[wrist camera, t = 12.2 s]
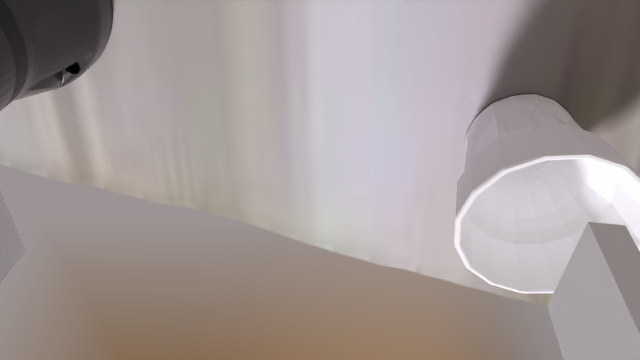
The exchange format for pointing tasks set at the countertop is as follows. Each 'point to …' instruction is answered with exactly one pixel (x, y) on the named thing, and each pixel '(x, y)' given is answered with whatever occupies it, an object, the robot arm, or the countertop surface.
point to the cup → (536, 193)
